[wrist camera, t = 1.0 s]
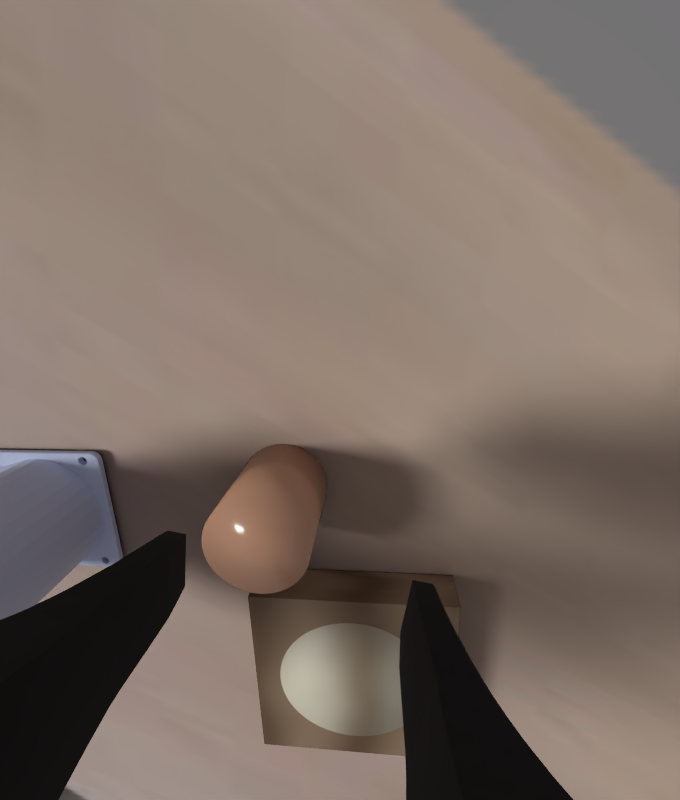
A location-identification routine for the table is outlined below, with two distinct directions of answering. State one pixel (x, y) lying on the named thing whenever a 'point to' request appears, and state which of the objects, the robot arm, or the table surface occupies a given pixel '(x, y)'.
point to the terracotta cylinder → (267, 521)
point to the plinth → (336, 658)
